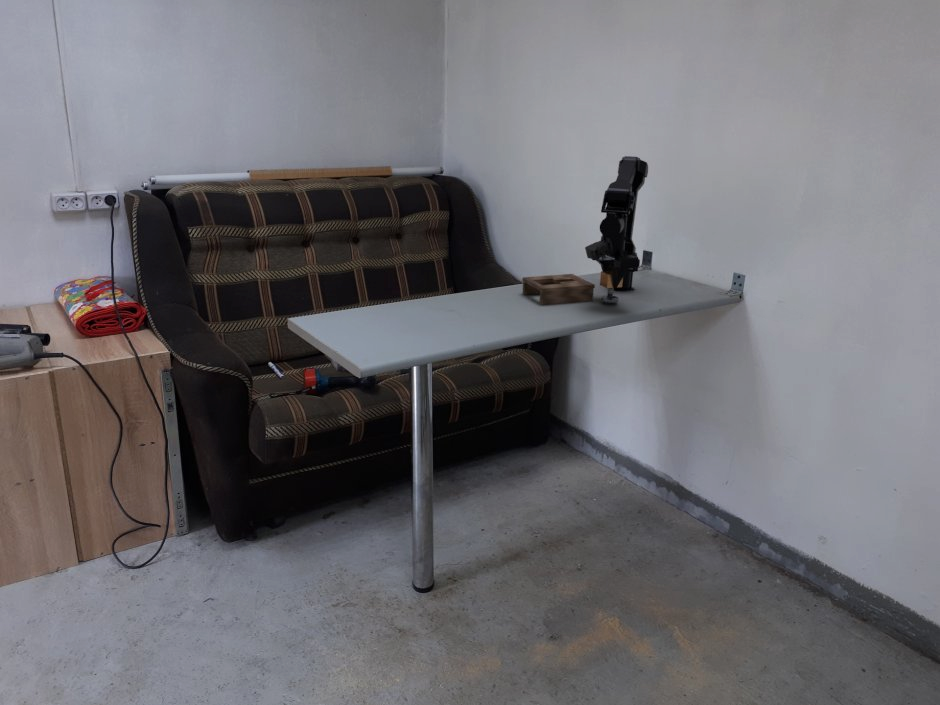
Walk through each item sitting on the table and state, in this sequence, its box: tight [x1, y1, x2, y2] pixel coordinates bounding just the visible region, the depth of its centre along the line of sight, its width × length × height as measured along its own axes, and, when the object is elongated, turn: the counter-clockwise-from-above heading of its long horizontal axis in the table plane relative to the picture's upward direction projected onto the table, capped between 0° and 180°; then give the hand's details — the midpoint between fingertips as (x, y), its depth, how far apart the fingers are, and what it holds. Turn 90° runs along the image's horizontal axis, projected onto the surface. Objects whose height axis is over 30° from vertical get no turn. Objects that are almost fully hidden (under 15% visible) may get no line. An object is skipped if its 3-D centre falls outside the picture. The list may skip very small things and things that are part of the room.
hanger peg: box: [599, 271, 623, 304], centre depth 208 cm, size 5×5×8 cm
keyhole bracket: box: [521, 273, 596, 306], centre depth 215 cm, size 17×14×5 cm
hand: (610, 285), depth 208 cm, fingers closed on hanger peg, 4 cm apart
